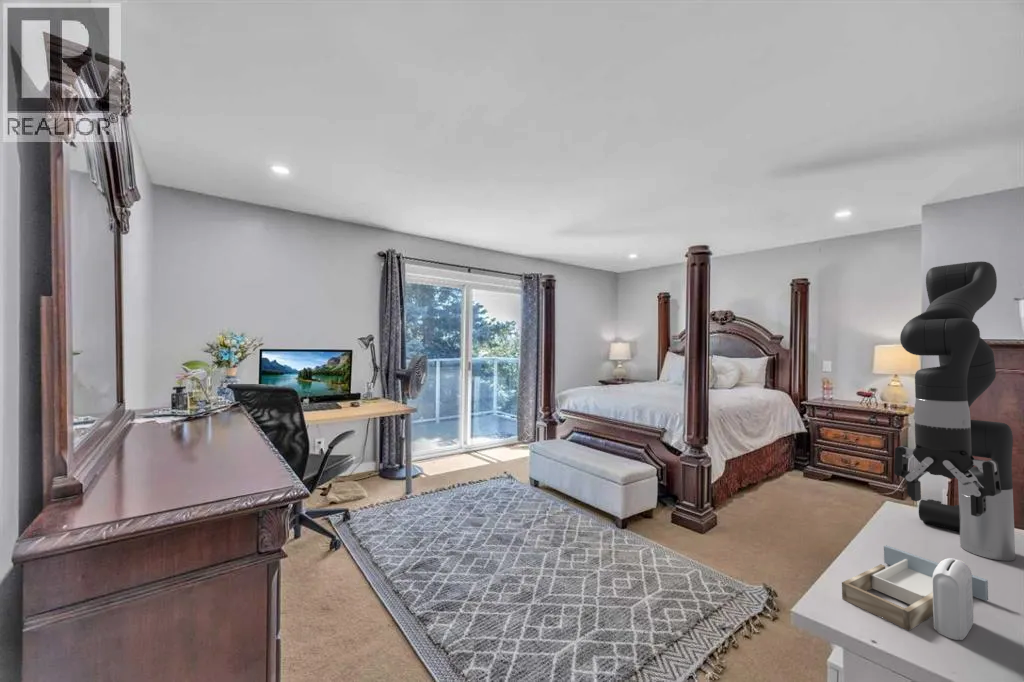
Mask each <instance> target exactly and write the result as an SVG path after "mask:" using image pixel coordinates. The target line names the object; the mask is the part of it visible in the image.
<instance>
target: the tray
mask: <svg viewBox="0 0 1024 682" xmlns="http://www.w3.org/2000/svg"><path fill="white" fill-rule="evenodd" d="M883 560H884V561H883V562H884V564H886V565H889V566H887V567H885V569H883V570H881V571H879V572H877V573H875V574H873V575H871V577H872V589H873V590H875V591H877V592H880V593H883V594H884V595H887V596H889V597H892V598H894V599H896V600H899V601H901V602H903V603H906V604H907V605H909V606H910V605H912V604H913V603H915V602H917V601H919V600H920V599H922V598H924V597H926V596H927V595H929V594H931V593H932V592H933V583H932V577H933V572H934V570H935V568H936V567H937V565H938V564H939V563H940V562H937V561H934V560H931V559H928V558H925V557H922V556H919V555H917V554H913V553H910V552H907V551H905V550H901V549H899V548H896V547H892V546H891V545H888V544H886V545H884V546H883ZM972 596H973V598H974V597H975V598H978V599H980V600H983V601H986V602H987V601H988V600H989V583H988V579H986V578H984V577H980V576H978V575H974V574H972Z"/></svg>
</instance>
